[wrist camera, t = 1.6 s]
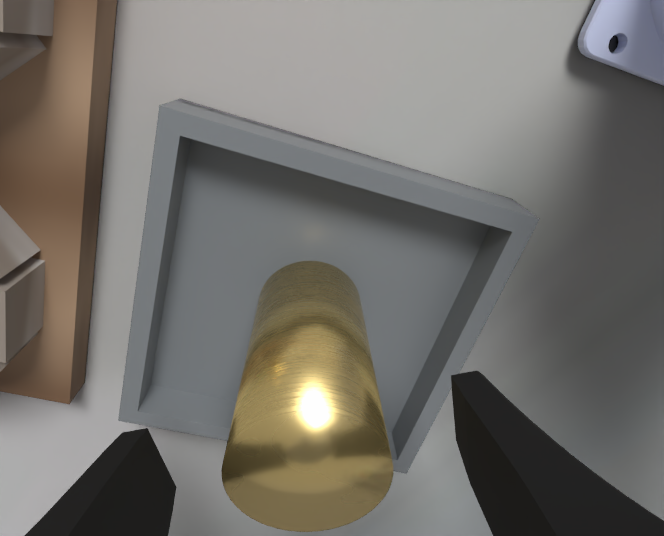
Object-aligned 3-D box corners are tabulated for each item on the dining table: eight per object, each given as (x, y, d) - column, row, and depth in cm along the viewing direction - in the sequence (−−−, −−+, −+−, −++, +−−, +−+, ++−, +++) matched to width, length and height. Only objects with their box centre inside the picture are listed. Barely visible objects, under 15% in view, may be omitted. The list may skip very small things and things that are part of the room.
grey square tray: (512, 199, 15) (540, 218, 13) (397, 434, 19) (406, 473, 17) (180, 98, 13) (159, 105, 11) (138, 383, 17) (118, 420, 16)
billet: (374, 275, 15) (418, 430, 9) (342, 358, 17) (361, 541, 10) (271, 249, 15) (241, 394, 8) (248, 336, 16) (207, 518, 10)
